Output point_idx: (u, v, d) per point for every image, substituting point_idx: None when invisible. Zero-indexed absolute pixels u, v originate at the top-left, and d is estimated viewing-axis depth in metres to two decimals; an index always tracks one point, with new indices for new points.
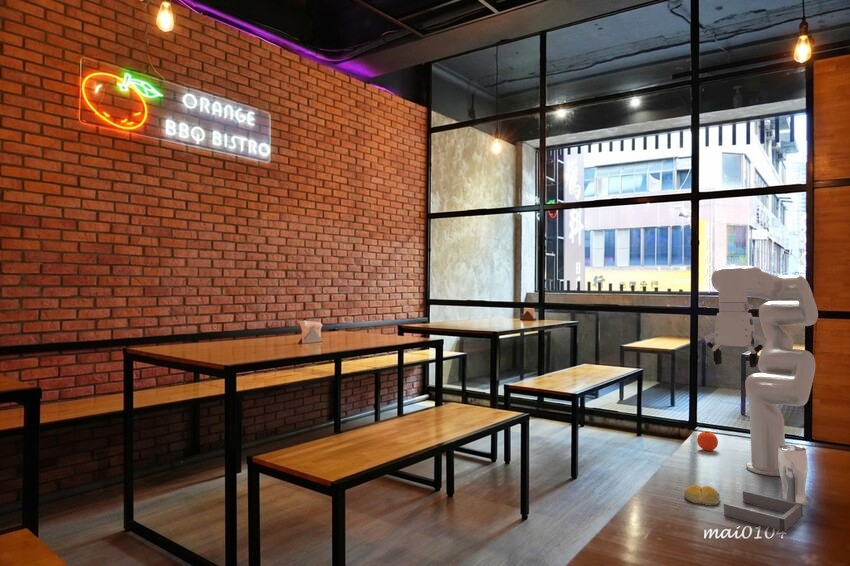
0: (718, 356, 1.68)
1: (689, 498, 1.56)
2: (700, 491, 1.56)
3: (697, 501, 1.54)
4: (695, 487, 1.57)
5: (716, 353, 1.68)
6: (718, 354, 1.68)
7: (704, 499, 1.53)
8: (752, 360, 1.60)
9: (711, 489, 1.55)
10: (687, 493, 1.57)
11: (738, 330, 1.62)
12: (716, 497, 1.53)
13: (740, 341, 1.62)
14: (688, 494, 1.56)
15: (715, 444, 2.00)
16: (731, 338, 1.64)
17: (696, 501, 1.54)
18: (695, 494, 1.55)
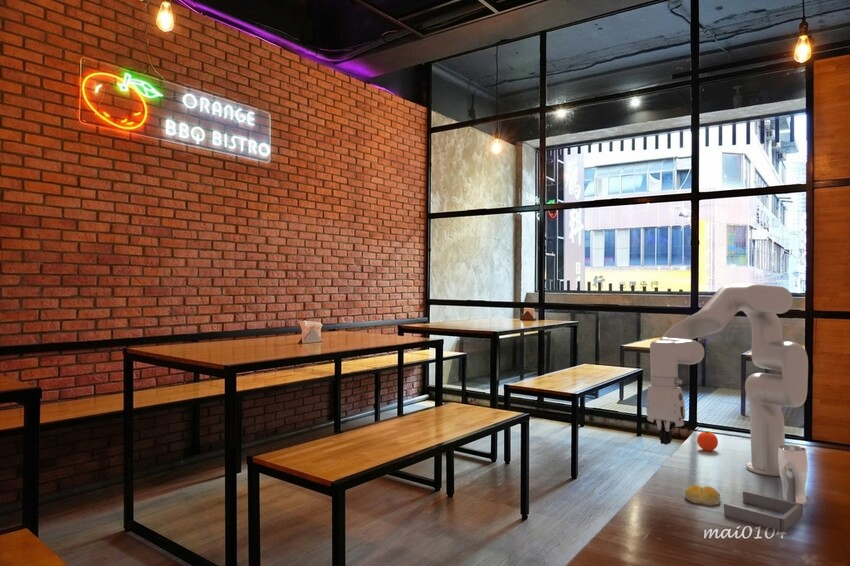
0: None
1: (690, 498, 1.56)
2: (700, 492, 1.55)
3: (698, 501, 1.54)
4: (695, 488, 1.57)
5: (662, 432, 1.64)
6: None
7: (705, 500, 1.53)
8: (666, 437, 1.63)
9: (712, 489, 1.55)
10: (688, 493, 1.57)
11: (667, 405, 1.62)
12: (717, 497, 1.53)
13: (669, 416, 1.62)
14: (689, 494, 1.56)
15: (715, 444, 2.00)
16: (661, 412, 1.63)
17: (697, 501, 1.54)
18: (696, 494, 1.55)
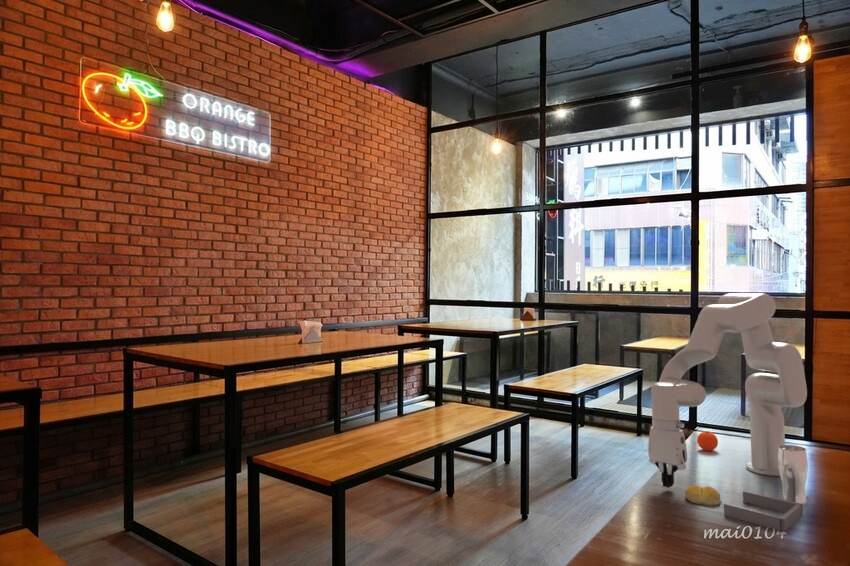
0: None
1: (690, 498, 1.56)
2: (701, 492, 1.55)
3: (698, 501, 1.54)
4: (695, 488, 1.57)
5: (664, 475, 1.64)
6: None
7: (705, 500, 1.53)
8: (668, 480, 1.63)
9: (712, 489, 1.55)
10: (688, 493, 1.57)
11: (669, 448, 1.62)
12: (717, 497, 1.53)
13: (671, 460, 1.61)
14: (689, 494, 1.56)
15: (715, 444, 2.00)
16: (663, 455, 1.63)
17: (697, 501, 1.54)
18: (696, 494, 1.55)
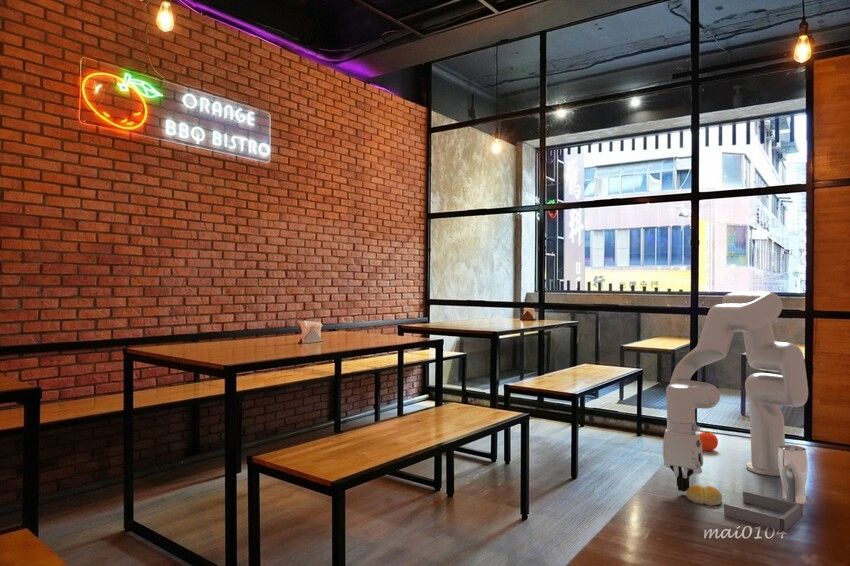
0: None
1: (691, 498, 1.55)
2: (702, 491, 1.55)
3: (699, 501, 1.53)
4: (697, 487, 1.57)
5: (679, 479, 1.60)
6: None
7: (707, 499, 1.52)
8: (683, 484, 1.60)
9: (713, 489, 1.55)
10: (689, 493, 1.56)
11: (685, 452, 1.58)
12: (718, 497, 1.53)
13: (687, 463, 1.58)
14: (691, 494, 1.56)
15: (715, 444, 2.00)
16: (678, 459, 1.60)
17: (699, 501, 1.53)
18: (698, 494, 1.54)
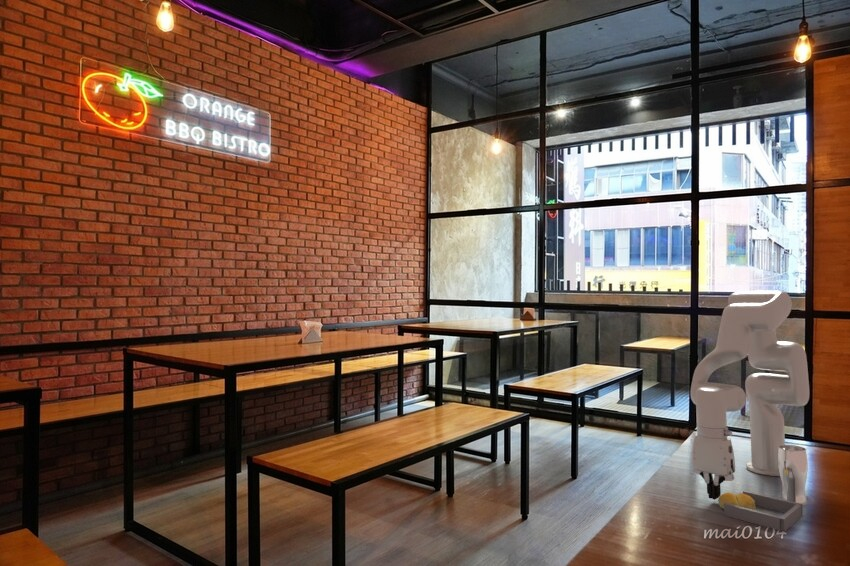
0: None
1: None
2: (736, 499, 1.49)
3: None
4: (730, 495, 1.50)
5: (710, 486, 1.54)
6: None
7: None
8: (714, 492, 1.53)
9: (747, 497, 1.49)
10: (723, 501, 1.50)
11: (716, 458, 1.52)
12: (754, 505, 1.47)
13: (719, 470, 1.51)
14: (724, 502, 1.49)
15: None
16: (709, 465, 1.53)
17: None
18: (732, 502, 1.48)
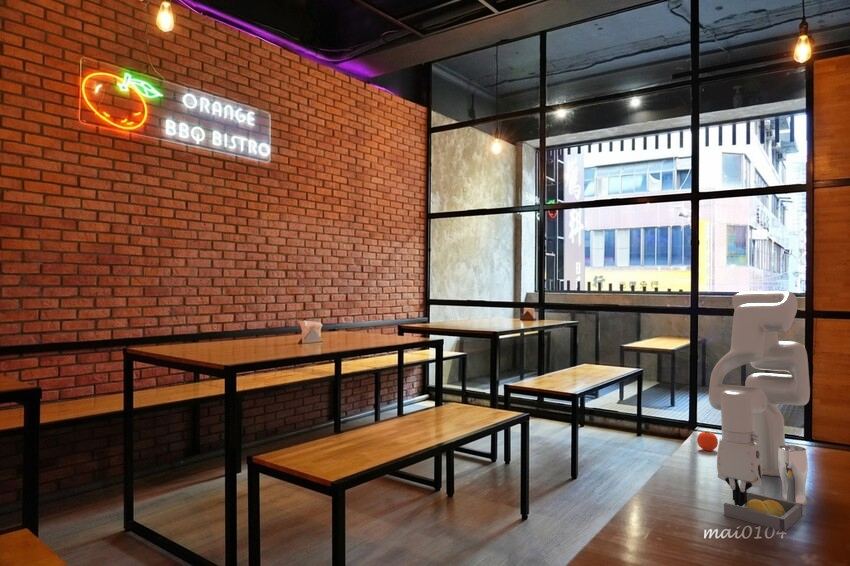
0: None
1: None
2: (765, 506, 1.44)
3: None
4: (758, 502, 1.45)
5: (736, 492, 1.49)
6: None
7: None
8: (741, 498, 1.48)
9: (776, 503, 1.44)
10: (752, 508, 1.45)
11: (743, 463, 1.46)
12: (783, 512, 1.42)
13: (745, 476, 1.46)
14: None
15: (715, 444, 2.00)
16: (735, 471, 1.48)
17: None
18: (762, 510, 1.43)
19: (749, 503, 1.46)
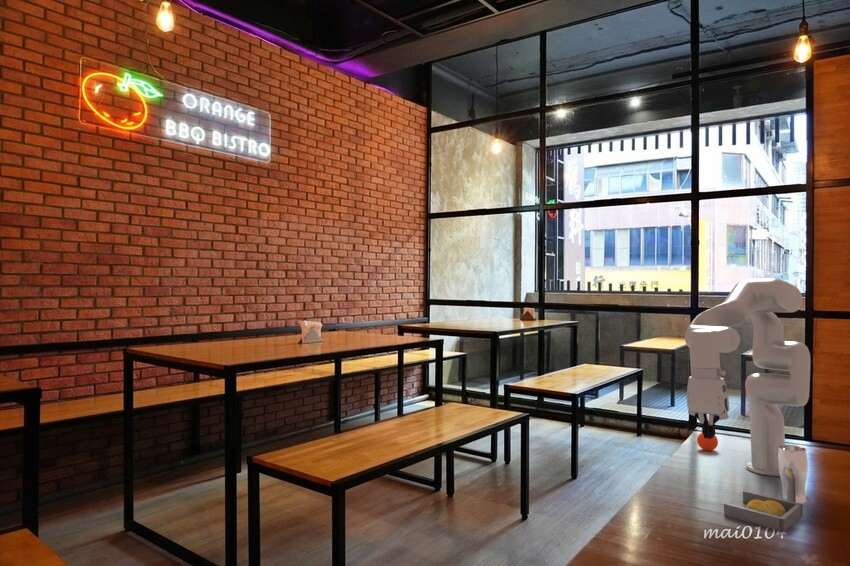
0: None
1: None
2: (766, 507, 1.44)
3: None
4: (759, 502, 1.45)
5: (704, 426, 1.55)
6: None
7: None
8: (709, 431, 1.55)
9: (777, 503, 1.44)
10: (753, 509, 1.44)
11: (710, 397, 1.53)
12: (784, 512, 1.42)
13: (713, 409, 1.53)
14: (755, 510, 1.44)
15: (715, 444, 2.00)
16: (703, 405, 1.55)
17: None
18: (763, 510, 1.43)
19: (750, 503, 1.46)
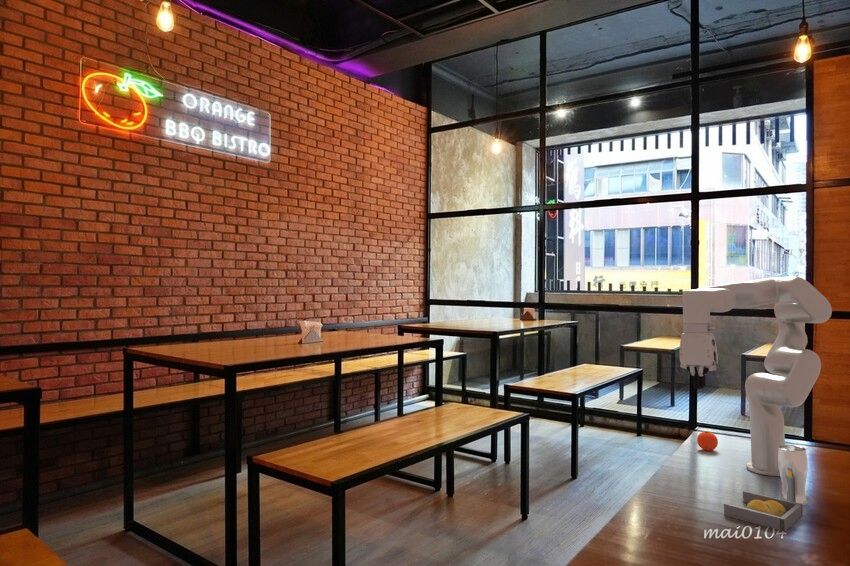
0: None
1: None
2: (767, 507, 1.44)
3: None
4: (760, 503, 1.45)
5: (695, 377, 1.70)
6: None
7: None
8: (699, 382, 1.70)
9: (778, 503, 1.44)
10: (753, 509, 1.44)
11: (701, 350, 1.68)
12: (785, 512, 1.42)
13: (703, 361, 1.68)
14: (755, 510, 1.44)
15: (715, 444, 2.00)
16: (694, 358, 1.70)
17: None
18: (764, 510, 1.43)
19: (751, 503, 1.46)
